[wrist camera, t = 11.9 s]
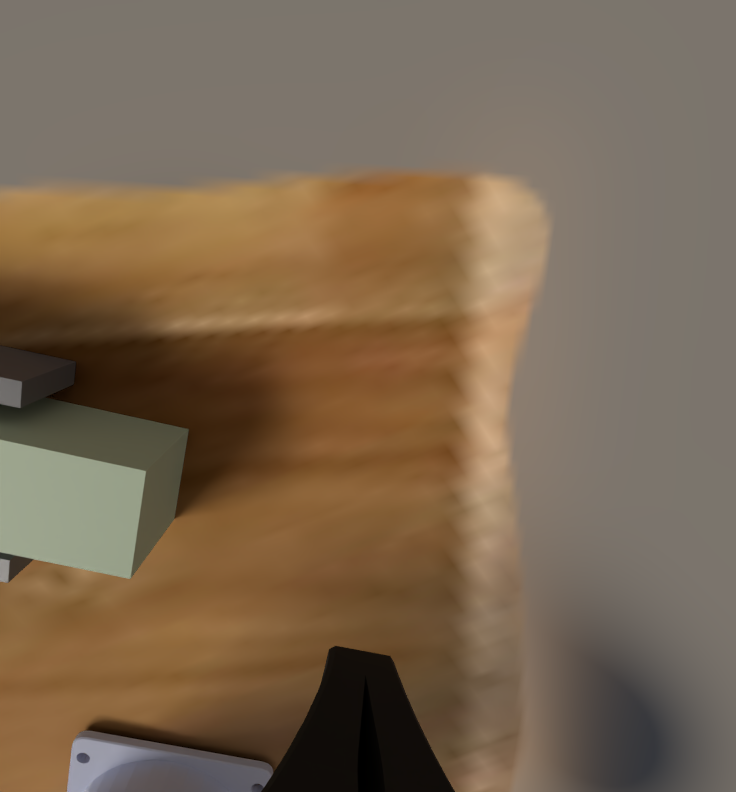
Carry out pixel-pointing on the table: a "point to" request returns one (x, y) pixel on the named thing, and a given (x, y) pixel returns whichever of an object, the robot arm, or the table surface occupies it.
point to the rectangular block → (86, 485)
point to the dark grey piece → (22, 385)
